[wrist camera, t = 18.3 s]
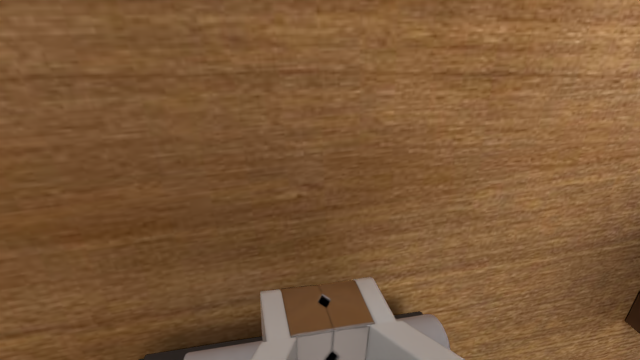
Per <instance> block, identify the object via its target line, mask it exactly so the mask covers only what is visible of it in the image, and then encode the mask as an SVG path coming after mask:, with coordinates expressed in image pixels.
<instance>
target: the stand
mask: <svg viewBox="0 0 640 360" xmlns="http://www.w3.org/2000/svg"><path fill="white" fill-rule="evenodd" d="M626 323H628V324H629V325H630V326H631V327H633V328H634V329H635V330H636V331H637V332H639V333H640V293H639V295H638V297H637V299H636V301H635V303H634V305H633V307H632V309H631V311H630V313H629V315H628V317H627V319H626Z"/></svg>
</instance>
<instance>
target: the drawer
mask: <svg viewBox="0 0 640 360" xmlns="http://www.w3.org/2000/svg"><path fill="white" fill-rule="evenodd" d="M394 317H395V319H396V321H398V320H403V321H404V322H406V323H407V324H409V325H411V326H412V327H414V328H415V329H417V330H419V331H420V332H422V333H423V334H425V335H427V336H428V337H430V338H431V339H433V340H435V341H436V342H438V343H439V344H441V345H443V346H444V347H446V348H447V349H449V350H450V345H449V341H448V337H447V335H446V332H445V330H444V328H443V326H442V324H441V323H440V321H439V320H438V319H437V318H436V317H435V316H433V315H431V314H425V315H423V314H422V312H413V313H407V314H400V315H394ZM262 342H263V341H262V336H261V337H255V338H249V339H242V340H236V341H230V342H224V343H217V344H211V345H205V346H198V347H192V348H186V349H179V350H173V351H167V352H160V353H154V354H148V355H145V357H144V360H251V358H252V357H253V355H254V353H255V351H256V350H257V348H258V346H259V345H260V343H262Z"/></svg>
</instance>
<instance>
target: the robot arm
mask: <svg viewBox="0 0 640 360" xmlns="http://www.w3.org/2000/svg"><path fill="white" fill-rule="evenodd" d="M260 304H261V326H262V341H263V342H262V343H260V345H259V346H258V348H257V350H256V351H255V353H254V355H253V357H252V358H251V360H465V359H464V358H462V357H460V356H459V355H457V354H455V353H454V352H452V351H451V350H449V349H447V348H446V347H444V346H443V345H441V344H439V343H438V342H436V341H435V340H433V339H431V338H430V337H428V336H427V335H425V334H423V333H422V332H420V331H419V330H417V329H415V328H414V327H412V326H411V325H409V324H407V323H406V322H404V321H403V320H398V321H396V319H395V317H394V315H393V313H392V311H391V310H390V308H389V306H388V304H387V302H386V300H385V299H384V297H383V295H382V293H381V291H380V289H379V287H378V286H377V284H376V282H375V280H374V279H373V278H372V277H365V278H359V279H353V280H347V281H340V282H333V283H326V284H319V285H310V286H301V287H292V288H282V289H277V290H268V291H261V292H260Z"/></svg>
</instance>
